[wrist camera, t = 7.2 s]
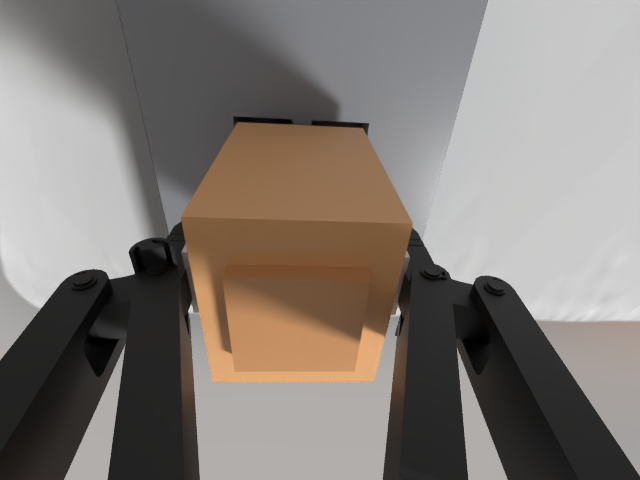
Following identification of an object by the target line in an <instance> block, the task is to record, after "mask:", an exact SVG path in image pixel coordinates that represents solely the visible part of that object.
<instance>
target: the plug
mask: <svg viewBox="0 0 640 480" xmlns="http://www.w3.org/2000/svg"><path fill="white" fill-rule="evenodd" d="M181 221H182V226H183V232H184V237H185V242H186V247H187V252H188V257H189V262H190V267H191V273H192V278H193V283H194V288H195V293H196V298H197V303H198V308H199V314H200V319H201V324H202V329H203V334H204V339H205V344H206V349H207V354H208V359H209V365H210V369H211V375H212V380H213V382H214V383H215V382H216V383H219V382H220V383H223V382H224V383H225V382H374V380H375V377H376V373H377V368H378V364H379V360H380V356H381V352H382V348H383V344H384V340H385V336H386V332H387V328H388V324H389V320H390V316H391V312H392V308H393V304H394V299H395V295H396V291H397V287H398V283H399V279H400V275H401V271H402V267H403V263H404V259H405V255H406V251H407V247H408V243H409V238H410V234H411V230H412V226H413V222H412V220H411V219H410V217H409V215H408V213H407V211H406V209H405V207H404V205H403V203H402V201H401V200H400V198H399V196H398V194H397V192H396V190H395V188H394V186H393V184H392V182H391V181H390V179H389V177H388V175H387V173H386V171H385V169H384V167H383V165H382V163H381V162H380V160H379V158H378V156H377V154H376V152H375V150H374V148H373V146H372V144H371V142H370V141H369V139H368V137H367V135H366V133H365V131H364V129H363V128H351V127H330V126H309V125H289V124H268V123H247V122H237V124H236V126H235V127H234V129H233V131H232V132H231V134H230V136H229V137H228V139H227V141H226V142H225V144H224V146H223V147H222V149H221V151H220V152H219V154H218V156H217V157H216V159H215V161H214V162H213V164H212V165H211V167H210V169H209V170H208V172H207V174H206V175H205V177H204V179H203V180H202V182H201V184H200V185H199V187H198V189H197V190H196V192H195V194H194V195H193V197H192V199H191V200H190V202H189V204H188V205H187V207H186V209H185V210H184V212H183V214H182V215H181Z"/></svg>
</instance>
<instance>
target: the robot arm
mask: <svg viewBox="0 0 640 480" xmlns="http://www.w3.org/2000/svg"><path fill="white" fill-rule="evenodd" d="M129 255H130V258H131V261H132V264H133V268H134V271H135V274H134V275H130V276H126V277H121V278H115V279H110V280H109V278H108V275H107V273H106V272H104V271H102V270H95V269H92V270H84V271H81V272H78V273H75V274H73V275H71V276H70V277H68V278H66V279H65V280H64V281H63V282H62V283H61V284H60V285H59V287H58V288H57V289H56V291H55V292H54V293H53V294H52V296H51V297H50V298H49V299H48V301H47V302H46V303H45V304H44V306H43V307H42V308H41V310H40V311H39V312H38V313H37V315H36V316H35V317H34V318H33V320H32V321H31V322H30V324H29V325H28V326H27V327H26V329H25V330H24V331H23V333H22V334H21V335H20V336H19V338H18V339H17V340H16V341H15V342H14V344H13V345H12V346H11V348H10V349H9V350H8V351H7V353H6V354H5V355H4V356H3V358H2V359H1V360H0V480H64V478H65V476H66V474H67V472H68V469H69V467H70V465H71V463H72V461H73V459H74V456H75V454H76V452H77V449H78V447H79V445H80V443H81V441H82V438H83V436H84V434H85V432H86V430H87V427H88V425H89V423H90V421H91V419H92V416H93V414H94V412H95V410H96V408H97V405H98V403H99V401H100V399H101V396H102V394H103V392H104V390H105V388H106V386H107V383H108V381H109V379H110V377H111V374H112V372H113V370H114V368H115V366H116V363H117V361H118V359H119V357H120V354H121V352H122V350H123V348H124V346H125V353H124V360H123V368H122V376H121V383H120V390H119V398H118V405H117V413H116V420H115V428H114V436H113V443H112V451H111V458H110V466H109V474H108V480H200V476H199V460H198V444H197V427H196V412H195V394H194V378H193V364H192V347H191V330H190V318H189V314H188V310H189V307H190V305H191V302H192V306H193V311H194V312H198V313H199V308H198V303H197V298H196V293H195V288H194V283H193V278H192V273H191V267H190V262H189V257H188V252H187V247H186V242H185V237H184V232H183V226H182V221H181V222H179V223H178V224H177V225H175V226H174V227H173V229H172V230H171V232H170V235H168V237H167V239H164V238H150V239H146V240H143V241H140V242H138V243H136V244H135V245H134V246H132V247H131V249H130V250H129ZM398 305H399V308H400V311H401V315H400V318H399V322H398V326H397V329H396V334H395V336H397V343H396V353H395V364H394V373H393V383H392V393H391V403H390V413H389V423H388V433H387V443H386V453H385V463H384V473H383V480H468V472H467V462H466V461H467V460H466V449H465V437H464V426H463V414H462V404H461V391H460V380H459V369H458V358H457V348H458V351H459V353H460V356H461V359H462V361H463V364H464V366H465V369H466V372H467V374H468V377H469V379H470V382H471V385H472V387H473V390H474V393H475V395H476V398H477V400H478V403H479V406H480V408H481V411H482V413H483V416H484V419H485V421H486V424H487V426H488V429H489V432H490V434H491V437H492V440H493V442H494V444H495V447H496V450H497V452H498V455H499V458H500V460H501V463H502V465H503V468H504V471H505V473H506V476H507V479H508V480H640V476H639V474H638V473H637V471H636V470H635V468H634V467H633V466H632V464H631V463H630V461H629V460H628V458H627V457H626V455H625V454H624V452H623V451H622V449H621V448H620V446H619V445H618V443H617V442H616V440H615V439H614V437H613V436H612V434H611V433H610V431H609V430H608V429H607V427H606V425H605V424H604V422H603V421H602V420H601V418H600V417H599V415H598V413H597V412H596V411H595V409H594V408H593V406H592V405H591V403H590V402H589V400H588V399H587V397H586V396H585V394H584V393H583V391H582V390H581V388H580V387H579V385H578V384H577V382H576V381H575V379H574V378H573V376H572V375H571V373H570V372H569V370H568V369H567V367H566V366H565V364H564V363H563V361H562V360H561V359H560V357H559V355H558V354H557V353H556V351H555V349H554V348H553V347H552V345H551V344H550V342H549V341H548V340H547V338H546V336H545V335H544V333H543V332H542V330H541V329H540V327H539V326H538V324H537V323H536V321H535V320H534V318H533V317H532V315H531V314H530V312H529V311H528V309H527V308H526V306H525V305H524V303H523V302H522V300H521V299H520V297H519V296H518V294H517V293H516V291H515V290H514V289H513V288H512V287H511V286H510V285H509V284H508V283H506V282H505V281H503V280H501V279H499V278H496V277H492V276H480V277H478V278H476V280H475V282H474V284H473V285H472V284H468V283H463V282H459V281H456V280H452V279H451V277H450V275H449V273H448V272H447V271H446V270H445V269H444V268H442V267H440V266H439V265H436V264H434V262H433V261H432V259H431V257H430V255H429V253H428V251H427V249H426V247H424V243H423V241H421V238H420V236H419V234H418V232H417V231H416V230H414V229H413V228H412V230H411V234H410V238H409V243H408V247H407V251H406V255H405V259H404V263H403V267H402V271H401V275H400V279H399V283H398V287H397V291H396V295H395V299H394V304H393V308H392V312H391V315H395V314H396V310H397V306H398ZM125 343H126V345H125Z"/></svg>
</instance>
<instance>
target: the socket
mask: <svg viewBox="0 0 640 480" xmlns="http://www.w3.org/2000/svg"><path fill="white" fill-rule="evenodd" d="M116 2H117V7H118V11H119V15H120V20H121V24H122V29H123V33H124V38H125V42H126V46H127V51H128V55H129V60H130V64H131V68H132V73H133V77H134V82H135V86H136V91H137V95H138V99H139V104H140V108H141V113H142V117H143V121H144V126H145V130H146V135H147V139H148V144H149V148H150V152H151V157H152V161H153V166H154V170H155V175H156V179H157V183H158V188H159V192H160V197H161V201H162V205H163V210H164V214H165V219H166V223H167V228H168V232H169V235H170V232H171V230H172V229H173V227H174V226H175V225H177V224H178V223H179V222H181V215H182V214H183V212H184V210H185V209H186V207H187V205H188V204H189V202H190V200H191V199H192V197H193V195H194V194H195V192H196V190H197V189H198V187H199V185H200V184H201V182H202V180H203V179H204V177H205V175H206V174H207V172H208V170H209V169H210V167H211V165H212V164H213V162H214V161H215V159H216V157H217V156H218V154H219V152H220V151H221V149H222V147H223V146H224V144H225V142H226V141H227V139H228V137H229V136H230V134H231V132H232V131H233V129H234V127H235V126H236V124H237V122H247V123H268V124H289V125H309V126H330V127H351V128H363V129H364V131H365V133H366V135H367V137H368V139H369V141H370V142H371V144H372V146H373V148H374V150H375V152H376V154H377V156H378V158H379V160H380V162H381V163H382V165H383V167H384V169H385V171H386V173H387V175H388V177H389V179H390V181H391V182H392V184H393V186H394V188H395V190H396V192H397V194H398V196H399V198H400V200H401V201H402V203H403V205H404V207H405V209H406V211H407V213H408V215H409V217H410V219H411V220H412V222H413V226H412V228H413V229H414V230H416V231H417V232H418V234H419V236H420V238H421V241H422V240H423V236H424V232H425V229H426V225H427V221H428V218H429V214H430V210H431V207H432V203H433V199H434V196H435V192H436V188H437V185H438V181H439V178H440V174H441V170H442V167H443V163H444V159H445V156H446V152H447V148H448V145H449V141H450V137H451V134H452V130H453V126H454V123H455V119H456V115H457V112H458V108H459V105H460V101H461V97H462V94H463V90H464V86H465V83H466V79H467V75H468V72H469V68H470V64H471V61H472V57H473V53H474V50H475V46H476V43H477V39H478V35H479V32H480V28H481V24H482V21H483V17H484V13H485V10H486V6H487V2H488V0H116ZM191 305H192V302H191ZM397 307H399V305H398V306H397Z"/></svg>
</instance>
